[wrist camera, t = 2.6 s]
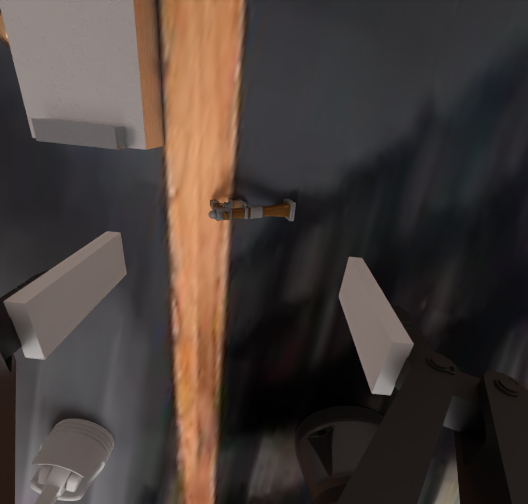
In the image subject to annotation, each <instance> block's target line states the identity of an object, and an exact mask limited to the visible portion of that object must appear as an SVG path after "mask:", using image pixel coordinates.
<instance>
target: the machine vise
mask: <svg viewBox="0 0 528 504" xmlns="http://www.w3.org/2000/svg"><path fill="white" fill-rule="evenodd" d="M0 9H1V10H0V40H1V41H2V42H3V44H4V45H5V46H6V47H8V48H9V49H10V50H11V53H12V57H13V61H14V65H15V69H16V73H17V77H18V81H19V85H20V89H21V93H22V97H23V101H24V105H25V109H26V113H27V117H28V121H29V125H30V129H31V133H32V137H33V138H36V140H37V141H44V142H53V143H62V144H72V145H81V146H90V147H100V148H109V149H122V148H136V149H145V150H146V149H151V148H155V147H160V146H164V145H165V143H164V126H163V108H162V90H161V73H160V55H159V38H158V20H157V3H156V0H0Z"/></svg>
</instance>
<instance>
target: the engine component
mask: <svg viewBox="0 0 528 504" xmlns="http://www.w3.org/2000/svg"><path fill="white" fill-rule="evenodd" d="M114 444H115V442H114V439H113V437H112V435H111V434H110V433H109V432H108V431H107V430H106V429H105V428H103V427H102V426H100V425H98V424H96V423H94V422H91V421H88V420H83V419H65V420H62V421H60V422H58V423H57V424H56V425H55V427H54V428H53V430H52V431H51V432H50V434H49V435H48V436H47V438H46V439H45V440H44V442H43V443H42V445H41V446H40V451H39V453H38V455H37V456H36V457H35V459H34V460H33V462H32V463H33V464H35V465H39V467H38V470H37V472H36V474H35V476H34V477H33V479H32V480H31V483H30V487H31V489H33V490H34V491H36V492H38V493H40V496H39V498H38V499H37V501H36V503H35V504H55V502H56V500H57V499H58V500H65V501H76V500H79V499H81V498H82V497H83V496H84V494H85V492H86V490H87V489H88V487H89V485H90V484H91V482H92V481H93V480H94V479H95V477H96V476H97V475H98V474H99V473H100V472H101V470H102V469H103V468H104V466H105V464H106V462H107V460H108V458H109V456H110V454H111V452H112V450H113V448H114Z"/></svg>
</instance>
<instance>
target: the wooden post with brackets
mask: <svg viewBox="0 0 528 504" xmlns="http://www.w3.org/2000/svg"><path fill="white" fill-rule="evenodd" d="M220 204H222V203H219V202H218V201H216V200H210V206H211V209H212V210H213V211H210V212H209V217H210V218H212V219H216V220H217V221H219V220H231V218H244V219H248V217H249V218H250V219H252V218H262V216H282V217H285V218H287V219H288V220H289V221H294V213H295V204H296V203H295V202H293V201H291V200H290V199H288V198H287V199H284V202H283V203H280V204H276V205H270V206H263V207H261V206H260V205H258V206H248V207H246V206H247V203H246V202H245V201H242V200H241V199H239V200H231V199H230V198H229V201H228V203H226V202H224V204H222V205H220ZM223 206H224V207H223Z"/></svg>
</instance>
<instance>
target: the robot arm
mask: <svg viewBox="0 0 528 504" xmlns="http://www.w3.org/2000/svg"><path fill="white" fill-rule="evenodd" d="M126 274H127V273H126V267H125V260H124V253H123V246H122V240H121V233H118V232H109V231H107V232H105V233H104V234H102V235H101V236H99V237H98V238H96V239H95V240H93V241H92V242H91V243H89V244H88V245H86V246H85V247H83V248H82V249H80V250H79V251H77V252H76V253H74V254H73V255H71V256H70V257H68V258H67V259H65V260H64V261H62V262H61V263H59V264H58V265H56V266H55V267H53V268H52V269H51V270H47V271H44V272H42V273H39V274H37V275H35V276H33V277H32V278H30V279H29V280H27V281H25V283H22V284H21V285H19V286H18V287H17V289H16V288H15V289H13V290H12V291H10V292H9V293H7V294H6V295H4V296H3V297H1V298H0V504H15V406H16V360H15V357H14V355H13V353H14V352H16V351H17V350H18V349H19V348H20V347H22V349H23V352H24V354H25V357H26V358H35V359H46V358H47V357H48V356H49V355H50V354H51V353H52V352H53V350H54V349H55V348H56V347H57V346H58V345H59V344H60V343H61V342H62V341H63V340H64V339H65V338H66V337H67V336H68V335H69V334H70V333H71V332H72V331H73V330H74V329H75V327H76V326H77V325H78V324H79V323H80V322H81V321H82V320H83V319H84V318H85V317H86V316H87V315H88V314H89V313H90V312H91V311H92V310H93V309H94V308H95V307H96V306H97V304H98V303H99V302H100V301H101V300H102V299H103V298H104V297H105V296H106V295H107V294H108V293H109V292H110V291H111V290H112V289H113V288H114V287H115V286H116V285H117V284H118V282H119V281H120V280H121V279H122V278H123V277H124V276H125V275H126ZM339 299H340V302H341V305H342V308H343V311H344V314H345V317H346V319H347V322H348V325H349V328H350V331H351V334H352V337H353V340H354V343H355V346H356V349H357V352H358V355H359V358H360V361H361V364H362V366H363V369H364V372H365V375H366V378H367V381H368V384H369V387H370V390H371V393H373V394H382V395H391V394H392V391H393V389H394V387H395V385H396V388H397V390H398V393H397V395H396V396H395V398H394V400H393V402H392V404H391V405H390V407H389V409H388V411H387V413H386V415H385V416H383V415H382V414H380V413H378V412H376V411H374V410H371V409H368V408H364V407H359V406H335V407H330V408H326V409H322V410H319V411H317V412H315V413H313V414H311V415H309V416H308V417H306V418H305V419H304V420H303V421H302V422H301V423H300V424H299V426H298V427H297V429H296V432H295V451H296V456H297V460H298V463H299V465H300V468H301V471H302V474H303V477H304V480H305V483H306V485H307V488H308V491H309V494H310V497H311V501H312V504H417V502H418V499H419V496H420V493H421V490H422V487H423V484H424V481H425V478H426V475H427V472H428V469H429V466H430V463H431V460H432V457H433V454H434V451H435V447H436V444H437V441H438V438H439V435H440V432H441V429H442V426H446V427H448V428H451V429H453V430H454V435H455V447H456V459H457V471H458V483H459V495H460V504H528V390H527V389H525V388H524V387H523V386H522V385H521V384H520V383H519V382H517V381H516V380H515V379H513V378H511V377H509V376H507V375H505V374H503V373H499V372H496V371H488V372H486V373H485V374H484V375H483V377H482V378H481V379H480V378H477V377H474V376H471V375H468V374H465V373H462V372H459V370H458V369H457V367H456V365H455V364H454V363H453V362H452V361H451V360H450V359H448V358H446V357H445V356H443V355H441V354H439V353H437V352H434V351H433V350H432V348H431V347H430V345H429V343H428V342H427V340H426V339H425V337H424V336H423V334H422V333H421V331H420V330H418V327H417V325H416V324H415V323H414V321H413V319H412V318H411V316H410V315H409V314H408V313H407V312H406V311H405V310H404V309H402V308H401V307H400V306H393V305H390V304H389V302H388V300H387V299H386V297H385V295H384V294H383V292H382V290H381V289H380V287H379V285H378V284H377V282H376V280H375V279H374V277H373V275H372V274H371V272H370V270H369V269H368V267H367V265H366V264H365V262H364V260H363V259H362V258H356V257H349V259H348V263H347V266H346V270H345V274H344V278H343V282H342V285H341V289H340V293H339Z"/></svg>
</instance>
